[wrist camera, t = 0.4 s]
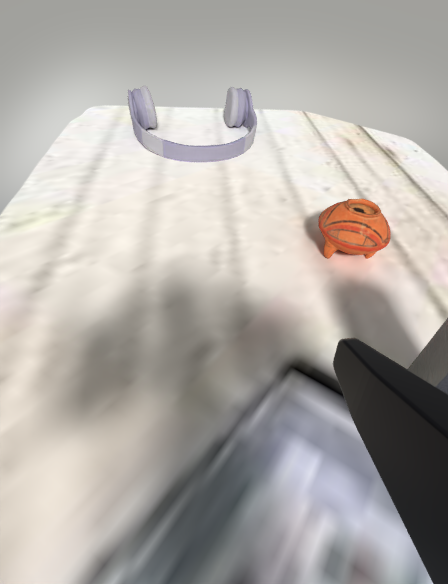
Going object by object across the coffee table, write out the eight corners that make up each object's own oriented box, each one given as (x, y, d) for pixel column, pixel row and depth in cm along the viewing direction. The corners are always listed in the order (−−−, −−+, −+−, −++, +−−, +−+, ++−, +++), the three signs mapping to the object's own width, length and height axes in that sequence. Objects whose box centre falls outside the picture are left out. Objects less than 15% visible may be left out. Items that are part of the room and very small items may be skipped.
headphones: (130, 120, 67) (137, 173, 54) (125, 79, 62) (131, 128, 49) (240, 118, 72) (271, 167, 59) (244, 80, 66) (279, 124, 54)
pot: (299, 229, 43) (325, 179, 38) (353, 242, 45) (384, 195, 40) (317, 270, 37) (350, 216, 33) (378, 282, 39) (417, 233, 35)
